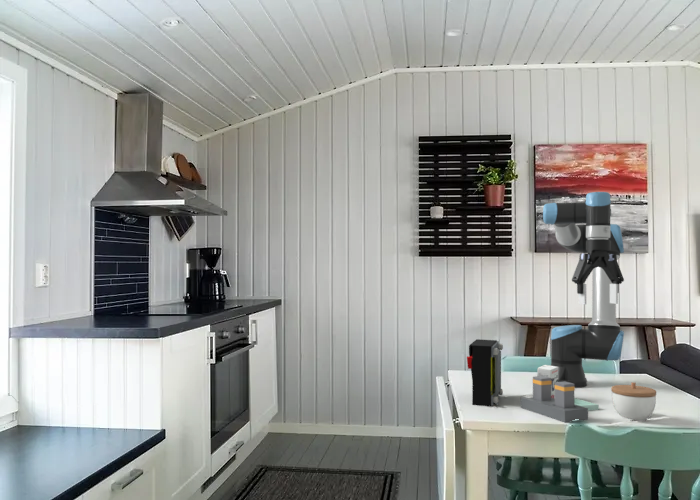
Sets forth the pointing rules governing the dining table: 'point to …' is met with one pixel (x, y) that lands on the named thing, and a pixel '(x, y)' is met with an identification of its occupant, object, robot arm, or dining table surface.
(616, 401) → the lidded bowl
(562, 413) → the pdu strip
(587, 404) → the tray
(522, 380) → the dining table surface
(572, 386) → the plug
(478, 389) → the electrical component
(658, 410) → the dining table surface
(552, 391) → the ink box
